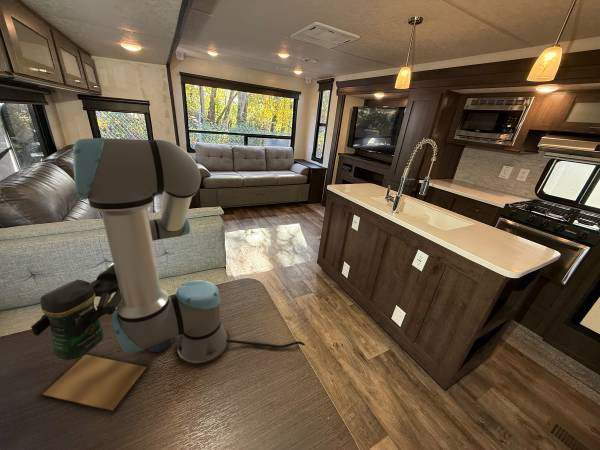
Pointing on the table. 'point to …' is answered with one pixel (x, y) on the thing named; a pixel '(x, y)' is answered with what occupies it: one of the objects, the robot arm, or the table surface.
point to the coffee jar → (71, 319)
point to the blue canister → (161, 345)
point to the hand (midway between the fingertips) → (54, 331)
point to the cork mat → (96, 382)
